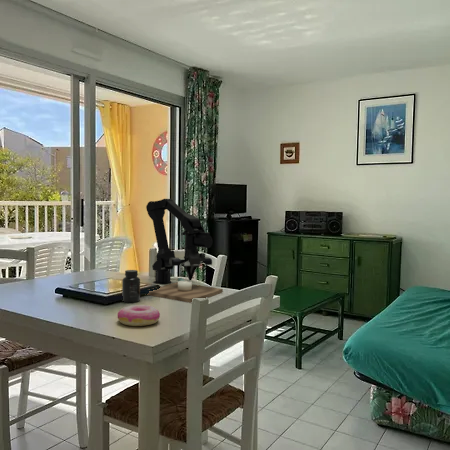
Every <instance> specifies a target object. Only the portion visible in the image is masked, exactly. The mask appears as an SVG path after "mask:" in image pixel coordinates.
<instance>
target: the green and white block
mask: <svg viewBox="0 0 450 450" xmlns="http://www.w3.org/2000/svg"><path fill="white" fill-rule="evenodd" d="M177 282H178V290H181V291H189V290H192V284H193V281H192V280H185V279H184V278H182V277H178V278H177Z"/></svg>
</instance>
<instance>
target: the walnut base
mask: <svg viewBox="0 0 450 450" xmlns="http://www.w3.org/2000/svg"><path fill="white" fill-rule="evenodd" d="M159 287H160V288H159V289H157V290H153V291H149V293H148V294H147V295H148V296H151V297H152V296H153V297H157V298H163V299H168V300H174V301H179V302H183V303H184V302H185V303H189V304H192V303H191V302H192V299H193V298H205V299H207V298H206V297H208V298H211V297H214V296H217V295H219V294H223V293H222V292H224V291H223V290H224V289H223V288H218V287H214V286H213V287H211V286H206V285H201V284H194V283H192V290H189V291H181V290H178V281H176V282H171V283H168V284H164V285H161V286H159Z"/></svg>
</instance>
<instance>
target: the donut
mask: <svg viewBox="0 0 450 450" xmlns="http://www.w3.org/2000/svg"><path fill="white" fill-rule="evenodd" d="M160 315H161V314H160V311H159V309H157V308H156V307H154V306H152V305H147V304H133V305H128V306H124V307H122V308H121V309H119V311H118V312H117V319H118V321H119V322H120V323H121V324H122V325H124V326H129V327H143V326H144V327H145V326H151V325H153V324H156V323H157V322H159V319H160V318H161V317H160Z"/></svg>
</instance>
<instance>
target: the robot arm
mask: <svg viewBox="0 0 450 450" xmlns="http://www.w3.org/2000/svg"><path fill="white" fill-rule="evenodd" d="M145 209H146V211H147V215H148V216H149V219H151V220H152V223H153V225H152V226H153V229H154V230H153V231H154V234H155V239H156V246H157V253H156V261H154V263H153V264H152V266H151V267H152V270H153V271H155V279H154V280H153V282H152V283H153V284H160V285H168V284H172V283H173V281H172V280H171V270H173V269H174V267H177V266H178V267H179V266H181V267H183V268H184V271H185V272H186V275H187V279H188V281H192V280H193V276H194V275H195V273H196V271H197V269H198V268H200V267H201V264H204V265H206V266H211V265H212V266H213V259H212V258H210V257H209V256H206V253H205V252H201V253H200V252H199V248H204V249H210V248H211V247H212V246H213V242H214V241H213V240H214V239H213V238H212V236H211V233H210V232H205V228H204V227H203V224H202V223H201V222H202V221H201V219H200V218H198V217H196V216H195V215H192V214H190V213H188V212H187V211H185V210H184V209H183V208H182V207H181V206H180V205H178V204H177V203H176V202H175V201H174V200H173V199H172V198H163V199H160V200H155V201H154V200H152V201H151V200H150V201H148V202H147V204H146V206H145ZM166 211H168V212H169V213H170V214H172V215H173V216H174V217H175V218H176V219H177V220H178V221H179V222H180V225H181V227H182V228H183V229H184V231H183V232H182V233H181V235H182V236H184V247H183V250H184V256H183V258H182V259H181V258H180V257H176V256H175V251H174V250H172V249H171V248H170V246H169V242H168V237H167V232H166V227H165V222H164V216H165V213H166Z"/></svg>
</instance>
